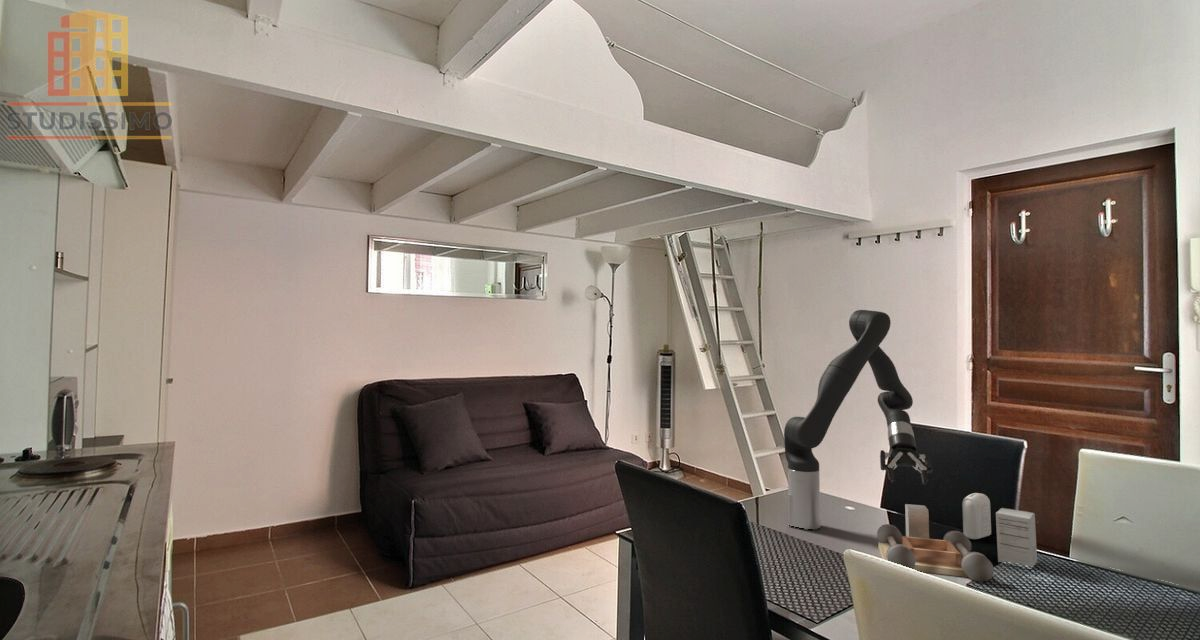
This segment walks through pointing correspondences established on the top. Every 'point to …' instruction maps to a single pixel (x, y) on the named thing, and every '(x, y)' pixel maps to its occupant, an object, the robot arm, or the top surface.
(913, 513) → the beige rectangular block
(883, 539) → the chassis
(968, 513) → the arched gray pillar
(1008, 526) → the supplement box
